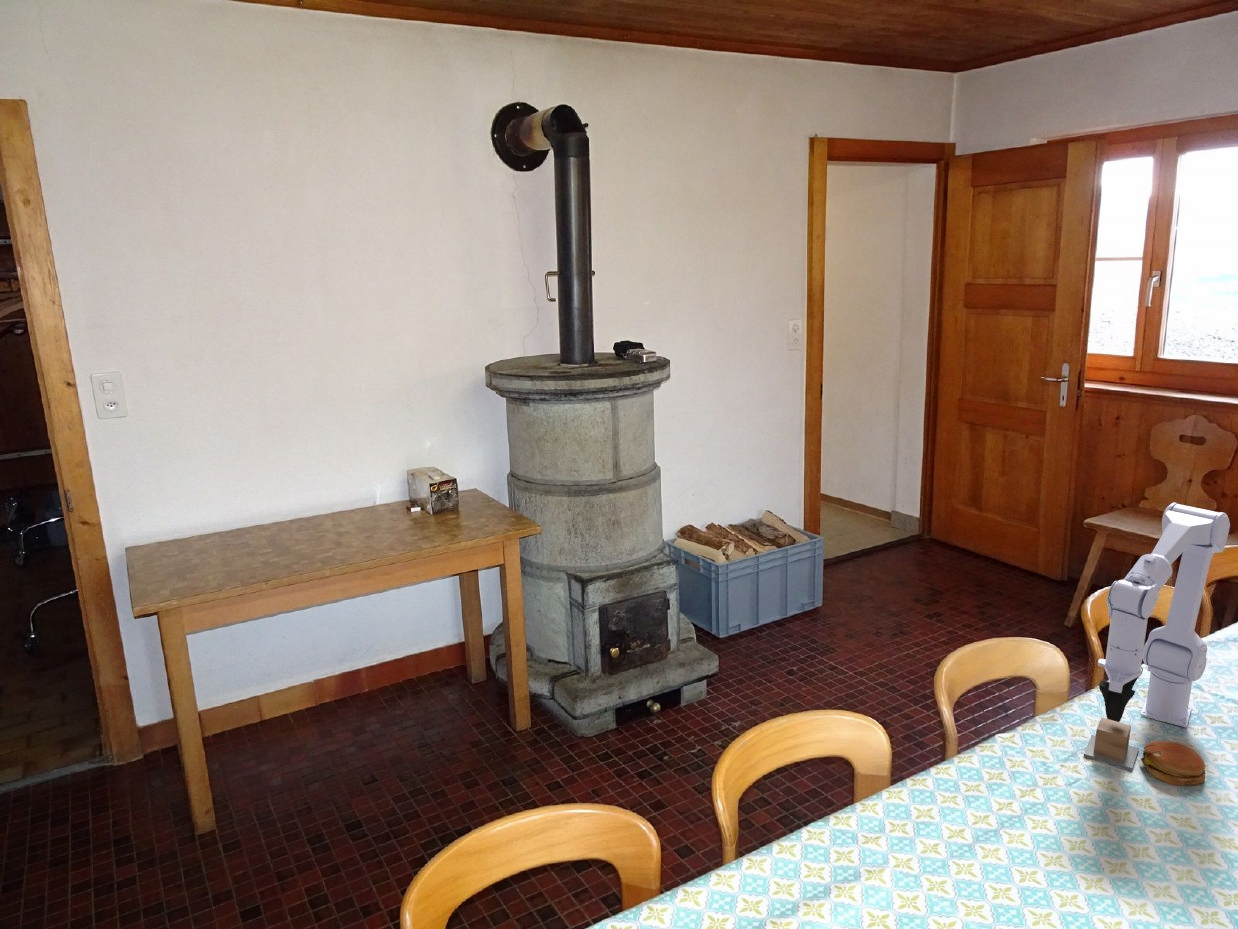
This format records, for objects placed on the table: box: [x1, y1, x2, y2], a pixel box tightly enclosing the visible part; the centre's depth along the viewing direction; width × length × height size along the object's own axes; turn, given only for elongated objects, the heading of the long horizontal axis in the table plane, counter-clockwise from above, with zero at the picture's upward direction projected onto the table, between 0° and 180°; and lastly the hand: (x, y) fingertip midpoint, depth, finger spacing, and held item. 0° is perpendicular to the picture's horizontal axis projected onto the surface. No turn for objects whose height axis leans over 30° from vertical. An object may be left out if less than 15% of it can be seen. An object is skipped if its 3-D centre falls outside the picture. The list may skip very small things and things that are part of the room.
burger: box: [1140, 740, 1206, 786], centre depth 158 cm, size 10×9×5 cm
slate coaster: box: [1083, 734, 1140, 772], centre depth 165 cm, size 8×8×1 cm
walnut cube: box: [1094, 716, 1132, 761], centre depth 164 cm, size 5×5×5 cm
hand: (1116, 710), depth 162 cm, fingers open, 7 cm apart
